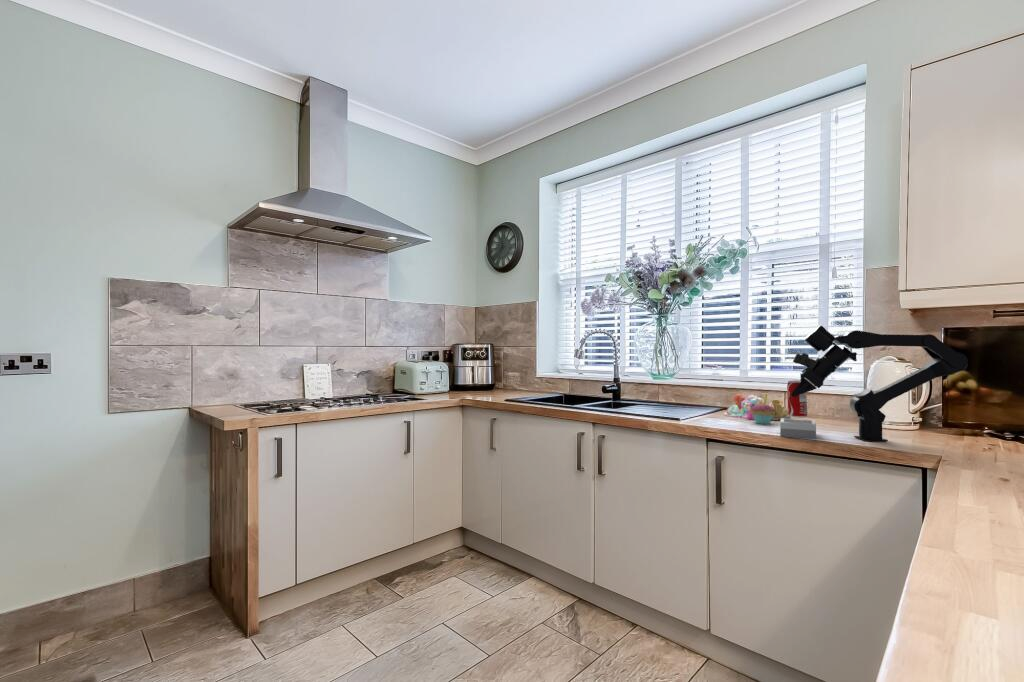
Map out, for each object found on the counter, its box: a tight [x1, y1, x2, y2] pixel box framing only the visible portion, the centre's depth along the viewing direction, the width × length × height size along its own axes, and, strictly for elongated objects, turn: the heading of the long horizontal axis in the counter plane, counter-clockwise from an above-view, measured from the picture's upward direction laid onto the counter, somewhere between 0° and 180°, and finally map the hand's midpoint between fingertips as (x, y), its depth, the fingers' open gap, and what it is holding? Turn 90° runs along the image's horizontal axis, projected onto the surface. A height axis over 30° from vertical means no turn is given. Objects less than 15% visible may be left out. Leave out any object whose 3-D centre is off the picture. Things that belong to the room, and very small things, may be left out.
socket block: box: [779, 418, 817, 440], centre depth 164 cm, size 10×10×4 cm
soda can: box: [786, 379, 808, 419], centre depth 165 cm, size 6×6×12 cm
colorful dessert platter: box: [723, 393, 791, 421], centre depth 207 cm, size 25×24×9 cm
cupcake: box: [750, 391, 775, 425], centre depth 189 cm, size 9×8×12 cm
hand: (791, 395), depth 165 cm, fingers closed on soda can, 6 cm apart
